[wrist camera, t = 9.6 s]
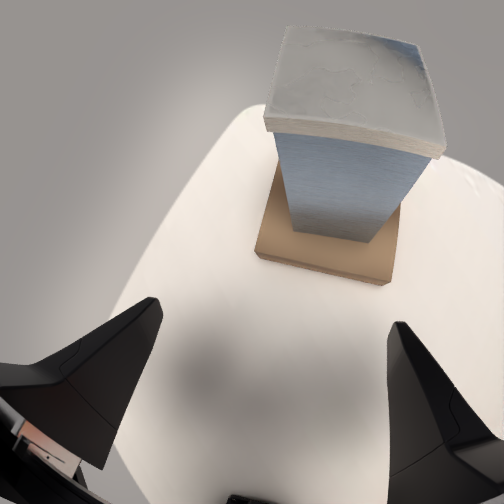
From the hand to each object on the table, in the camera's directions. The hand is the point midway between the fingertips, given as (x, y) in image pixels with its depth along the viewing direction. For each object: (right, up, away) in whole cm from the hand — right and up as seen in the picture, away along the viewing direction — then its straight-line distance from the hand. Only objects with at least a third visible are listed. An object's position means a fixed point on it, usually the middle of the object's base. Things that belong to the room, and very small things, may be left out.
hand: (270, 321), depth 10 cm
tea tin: (+5, +6, +10) cm, 13 cm away
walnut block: (+6, +6, +13) cm, 15 cm away
